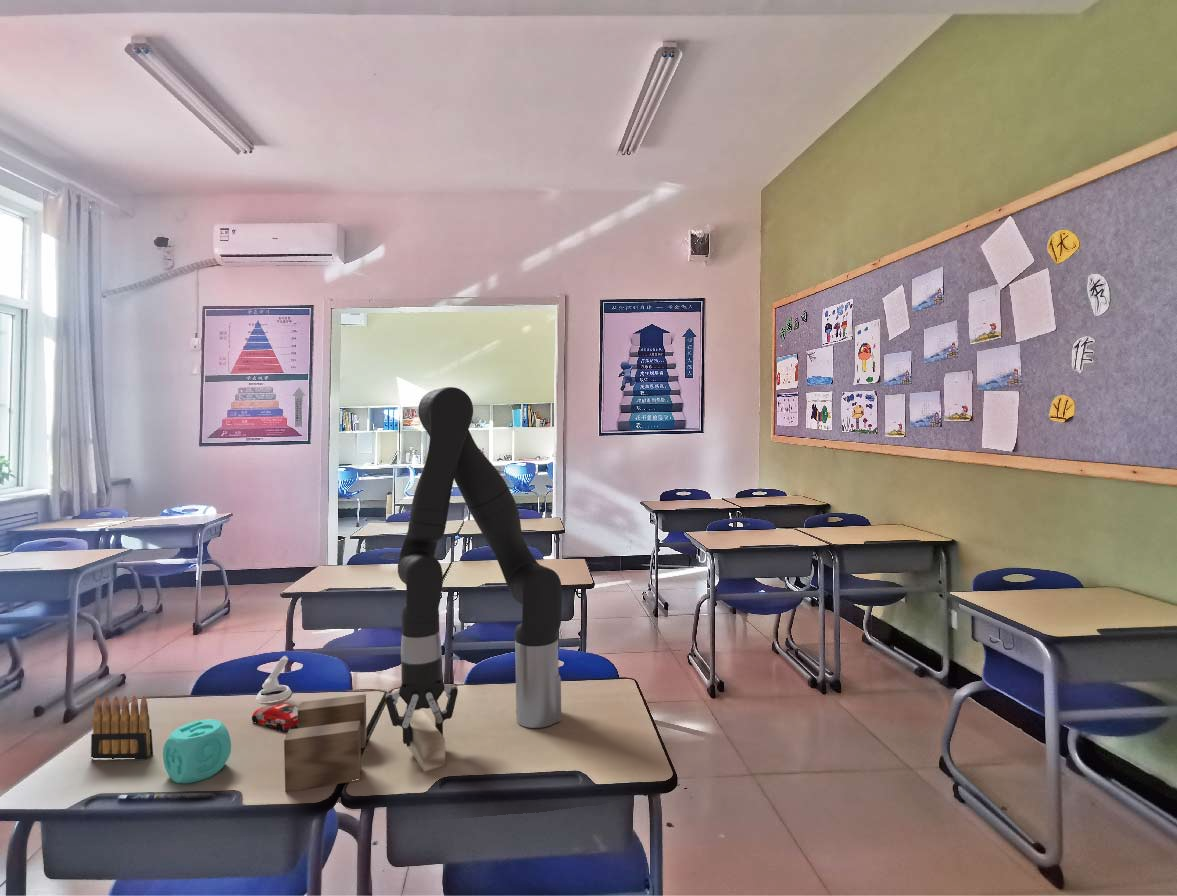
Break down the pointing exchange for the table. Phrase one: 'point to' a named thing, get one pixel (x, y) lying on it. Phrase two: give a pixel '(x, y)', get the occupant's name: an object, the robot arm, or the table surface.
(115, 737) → the ammunition clip
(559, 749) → the table surface
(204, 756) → the decorative dice
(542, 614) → the robot arm
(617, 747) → the table surface
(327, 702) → the slotted shelf
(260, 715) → the race car
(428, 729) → the maple beam
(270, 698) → the hook
